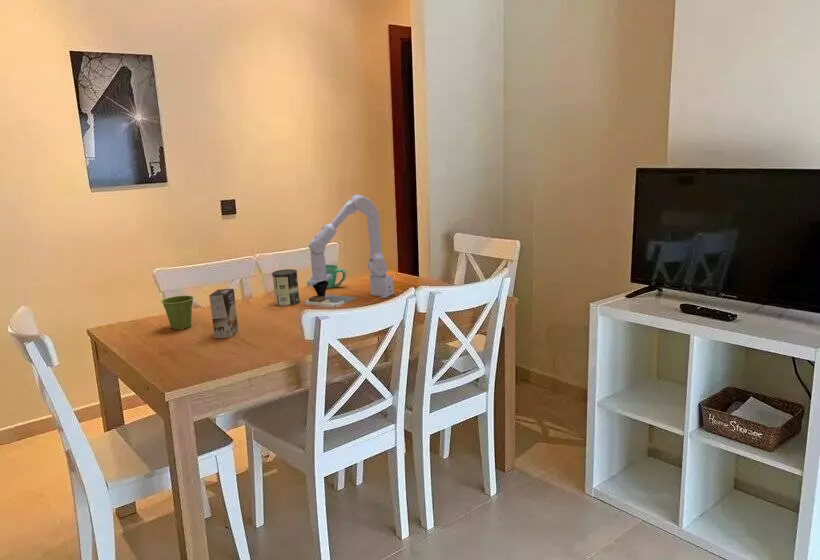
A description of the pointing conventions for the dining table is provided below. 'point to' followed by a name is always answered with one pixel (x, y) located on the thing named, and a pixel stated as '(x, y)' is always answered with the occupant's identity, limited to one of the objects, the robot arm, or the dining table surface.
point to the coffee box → (224, 313)
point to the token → (316, 299)
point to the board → (331, 301)
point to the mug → (334, 275)
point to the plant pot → (179, 311)
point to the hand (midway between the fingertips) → (321, 299)
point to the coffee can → (286, 287)
